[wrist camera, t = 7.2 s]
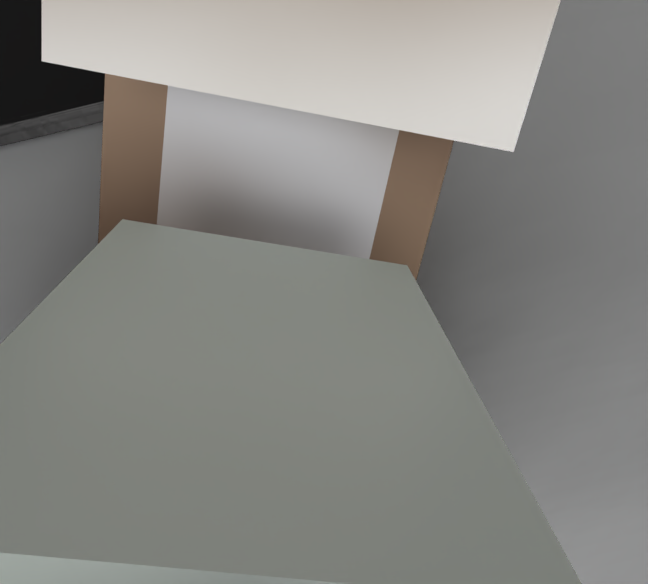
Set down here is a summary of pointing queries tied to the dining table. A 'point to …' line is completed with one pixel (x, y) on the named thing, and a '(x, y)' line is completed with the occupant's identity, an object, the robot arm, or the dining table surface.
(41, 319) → the block
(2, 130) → the phone
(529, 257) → the dining table surface
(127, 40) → the board
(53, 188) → the dining table surface
